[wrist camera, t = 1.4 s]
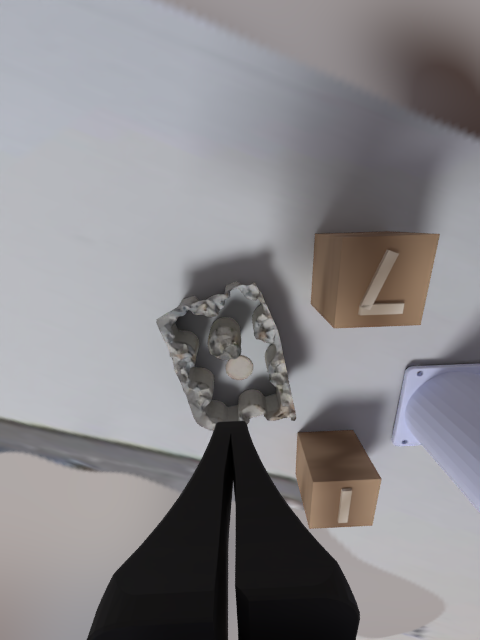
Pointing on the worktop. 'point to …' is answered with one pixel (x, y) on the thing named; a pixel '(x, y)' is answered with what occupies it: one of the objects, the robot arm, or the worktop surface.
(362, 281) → the numbered block seven
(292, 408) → the egg carton
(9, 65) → the worktop surface
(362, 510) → the numbered block one
